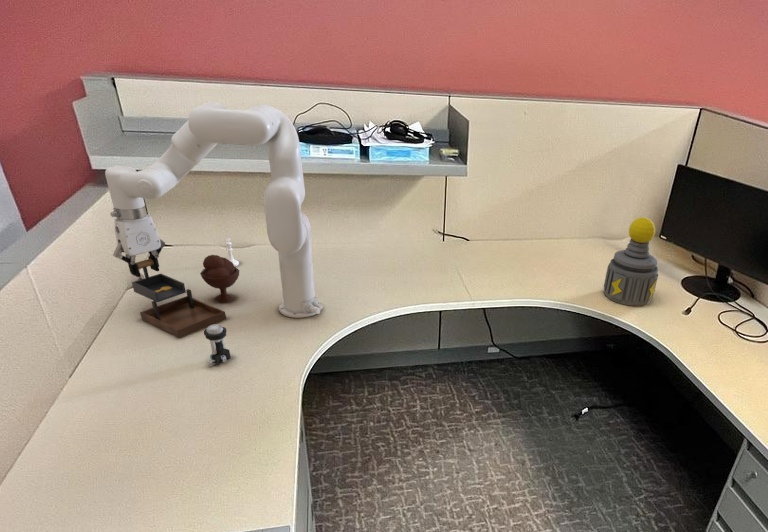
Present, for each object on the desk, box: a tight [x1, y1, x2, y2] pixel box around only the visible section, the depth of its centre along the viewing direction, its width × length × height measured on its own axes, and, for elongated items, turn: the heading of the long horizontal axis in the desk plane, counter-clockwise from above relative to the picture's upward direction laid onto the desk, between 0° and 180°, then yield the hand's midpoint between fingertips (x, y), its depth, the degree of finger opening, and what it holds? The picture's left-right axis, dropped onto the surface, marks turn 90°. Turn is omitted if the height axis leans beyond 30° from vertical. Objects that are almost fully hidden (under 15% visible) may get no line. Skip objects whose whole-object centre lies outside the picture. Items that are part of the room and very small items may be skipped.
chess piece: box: [224, 236, 240, 267], centre depth 202 cm, size 5×5×10 cm
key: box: [156, 286, 172, 293], centre depth 167 cm, size 6×2×1 cm, turn 150°
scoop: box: [131, 258, 187, 303], centre depth 165 cm, size 12×9×8 cm
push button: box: [203, 323, 231, 367], centre depth 147 cm, size 7×5×10 cm
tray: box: [139, 288, 227, 339], centre depth 165 cm, size 17×15×7 cm
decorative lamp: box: [603, 216, 659, 307], centre depth 204 cm, size 19×19×30 cm
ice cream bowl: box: [199, 254, 240, 304], centre depth 176 cm, size 11×11×15 cm
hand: (145, 272), depth 167 cm, fingers closed on scoop, 5 cm apart
